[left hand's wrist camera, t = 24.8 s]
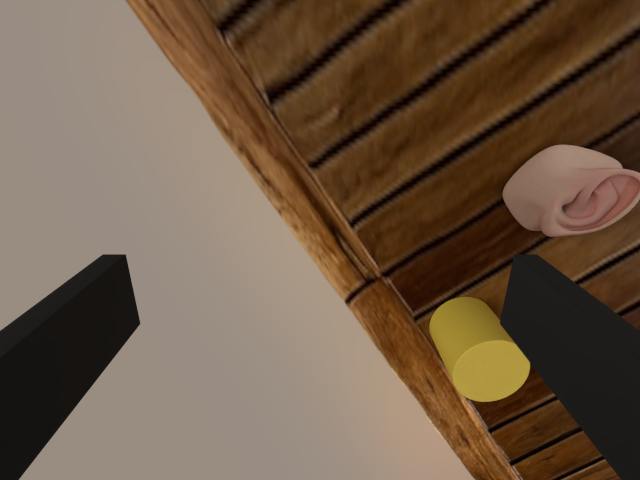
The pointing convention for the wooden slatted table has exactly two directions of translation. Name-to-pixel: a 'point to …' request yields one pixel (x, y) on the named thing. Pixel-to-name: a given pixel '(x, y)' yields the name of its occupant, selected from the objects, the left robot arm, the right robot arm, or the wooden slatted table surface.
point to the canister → (477, 350)
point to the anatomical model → (571, 191)
